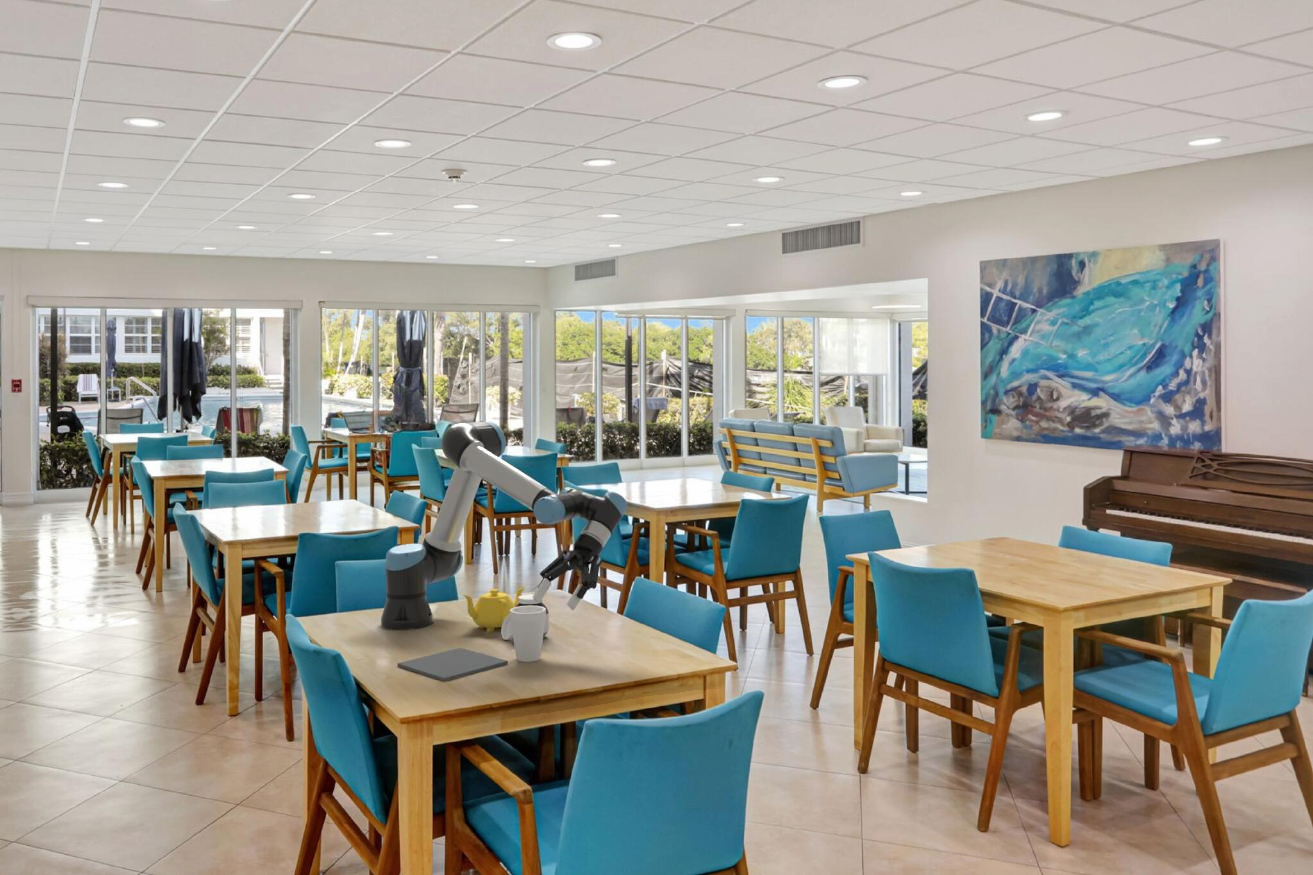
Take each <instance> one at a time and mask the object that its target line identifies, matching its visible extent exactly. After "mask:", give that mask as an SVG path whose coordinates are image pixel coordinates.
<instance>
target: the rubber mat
mask: <svg viewBox="0 0 1313 875" xmlns="http://www.w3.org/2000/svg"><path fill="white" fill-rule="evenodd" d="M505 665H509V660H506V659H503V658H499V657H495V656H492V655H488V654H484V653H482V652H477V651H474V650H470V649H466V648H463V647H458V648H454V649H450V650H449V649H448V650H445V651H442V652H437V653H434V654H433V653H432V654H429V655H426V656H422V657H418V658H413V659H409V660H405V661H402V662H397V667H398V668H402V669H405V670H408V671H411V672H414V673H417V674H420V675H423V676H427V677H428V678H429V677H430V678H431V679H436V680H439V681H442V682H446V681H452V680H455V679H457V678H462V677H465V676H468V675H473V674H476V673H481V672H483V671H487V670H491V669H494V668H498V667H502V666H505Z"/></svg>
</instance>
